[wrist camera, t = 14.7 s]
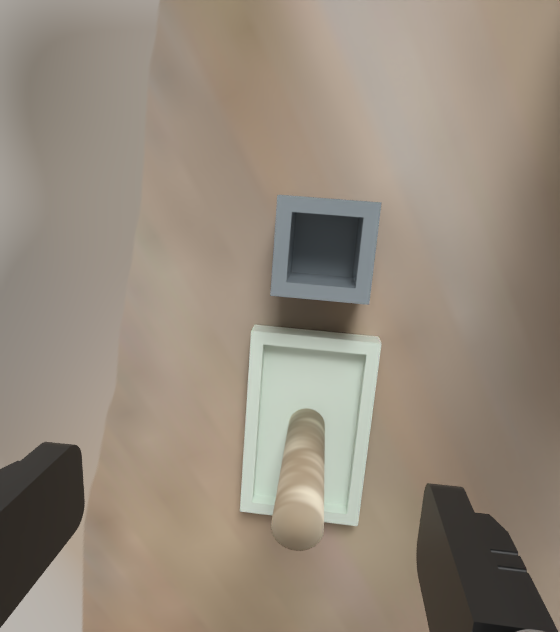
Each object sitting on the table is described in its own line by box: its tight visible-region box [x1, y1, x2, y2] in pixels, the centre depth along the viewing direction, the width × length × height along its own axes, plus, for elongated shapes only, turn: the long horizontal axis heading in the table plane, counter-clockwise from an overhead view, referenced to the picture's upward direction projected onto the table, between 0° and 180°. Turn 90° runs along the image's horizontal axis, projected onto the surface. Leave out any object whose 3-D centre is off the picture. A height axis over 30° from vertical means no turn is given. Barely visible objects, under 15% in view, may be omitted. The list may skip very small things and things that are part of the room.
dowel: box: [271, 408, 325, 551], centre depth 33 cm, size 3×3×13 cm
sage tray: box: [240, 325, 381, 526], centre depth 40 cm, size 10×16×2 cm, turn 176°
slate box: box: [270, 195, 381, 305], centre depth 34 cm, size 7×7×6 cm
